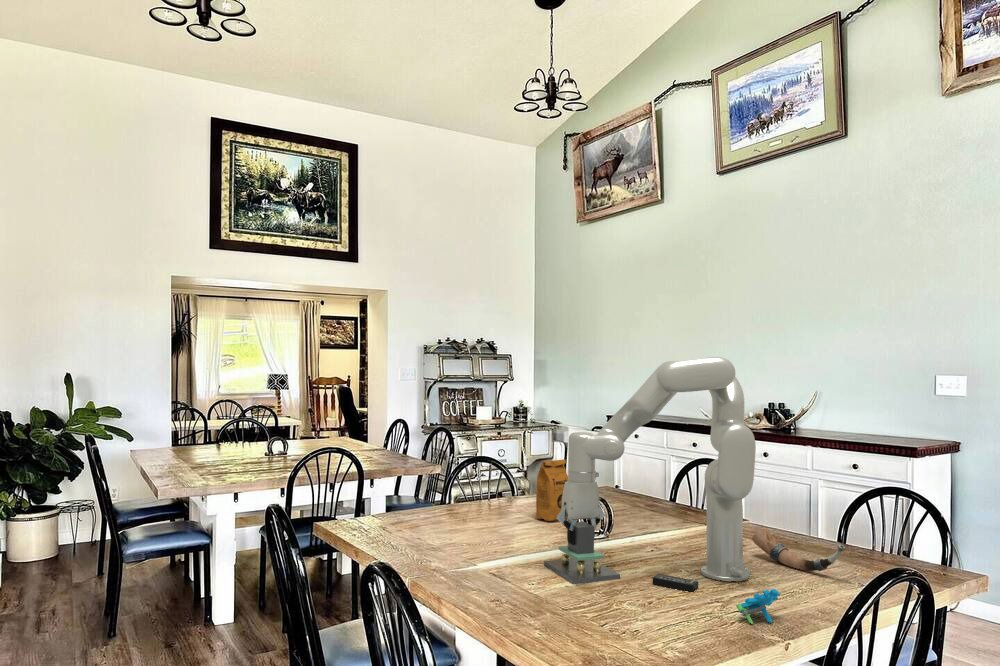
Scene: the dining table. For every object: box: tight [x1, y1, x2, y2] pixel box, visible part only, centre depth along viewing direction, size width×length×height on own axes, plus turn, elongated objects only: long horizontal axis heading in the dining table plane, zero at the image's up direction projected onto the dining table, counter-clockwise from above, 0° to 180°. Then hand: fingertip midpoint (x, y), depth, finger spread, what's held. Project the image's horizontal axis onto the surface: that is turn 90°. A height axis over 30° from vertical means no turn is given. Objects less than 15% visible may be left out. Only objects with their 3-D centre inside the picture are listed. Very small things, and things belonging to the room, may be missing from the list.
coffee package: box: [535, 458, 568, 522], centre depth 256 cm, size 10×12×22 cm
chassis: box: [543, 553, 621, 585], centre depth 191 cm, size 18×14×4 cm
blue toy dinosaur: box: [735, 588, 781, 625], centre depth 156 cm, size 11×6×10 cm
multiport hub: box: [652, 573, 699, 593], centre depth 179 cm, size 4×11×2 cm, turn 55°
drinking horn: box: [751, 528, 846, 572], centre depth 197 cm, size 6×30×10 cm, turn 28°
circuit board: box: [558, 521, 605, 561], centre depth 191 cm, size 12×8×8 cm, turn 21°
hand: (580, 542), depth 191 cm, fingers closed on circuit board, 5 cm apart
